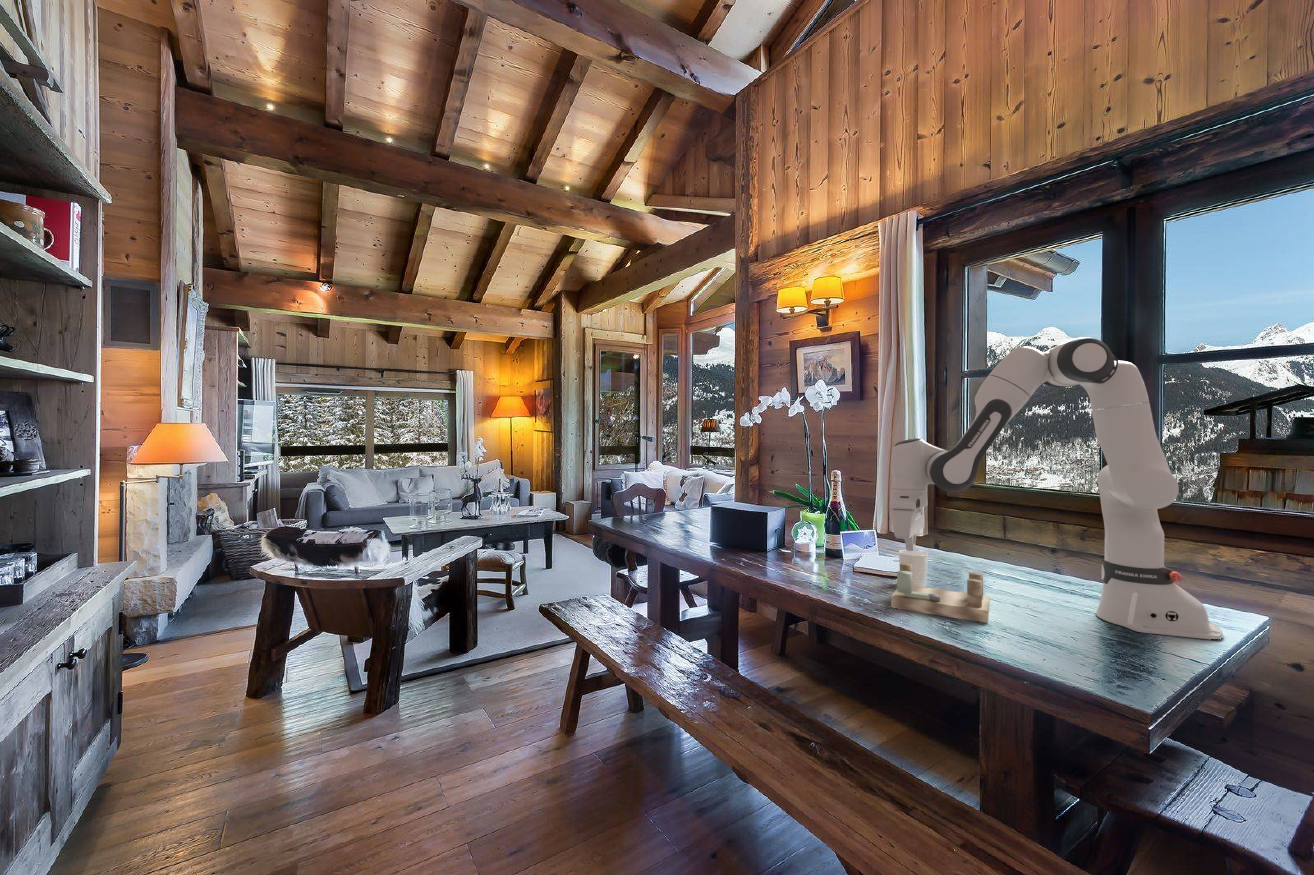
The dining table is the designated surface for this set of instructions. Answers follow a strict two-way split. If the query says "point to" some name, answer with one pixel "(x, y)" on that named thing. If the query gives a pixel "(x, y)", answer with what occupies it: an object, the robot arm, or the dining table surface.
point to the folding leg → (906, 587)
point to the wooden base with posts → (947, 600)
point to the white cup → (915, 565)
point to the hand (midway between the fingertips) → (910, 549)
